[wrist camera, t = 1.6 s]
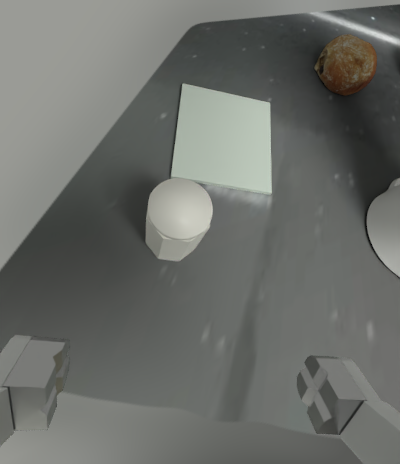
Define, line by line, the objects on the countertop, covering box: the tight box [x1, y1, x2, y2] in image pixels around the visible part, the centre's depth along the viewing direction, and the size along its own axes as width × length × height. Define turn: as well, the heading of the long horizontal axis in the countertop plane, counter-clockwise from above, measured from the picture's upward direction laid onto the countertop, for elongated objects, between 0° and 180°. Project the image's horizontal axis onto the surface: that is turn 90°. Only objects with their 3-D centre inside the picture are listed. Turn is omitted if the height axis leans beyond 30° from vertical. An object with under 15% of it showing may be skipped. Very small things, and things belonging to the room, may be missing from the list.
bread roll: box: [314, 34, 377, 95], centre depth 47 cm, size 10×10×8 cm
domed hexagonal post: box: [145, 178, 213, 261], centre depth 29 cm, size 6×6×9 cm
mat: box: [171, 84, 272, 195], centre depth 39 cm, size 14×16×1 cm
